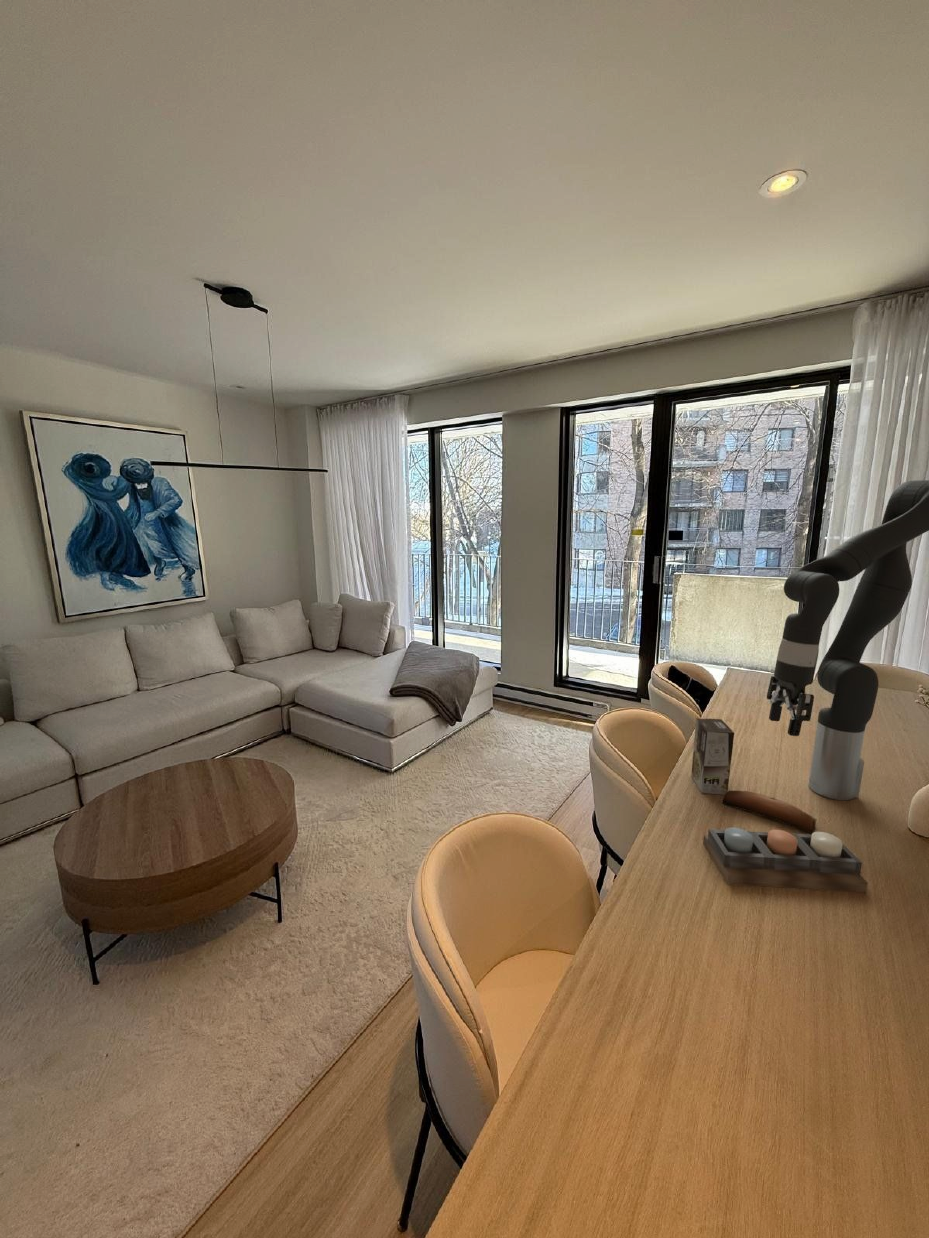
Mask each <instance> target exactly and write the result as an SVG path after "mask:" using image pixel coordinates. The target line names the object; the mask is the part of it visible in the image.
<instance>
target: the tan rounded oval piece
mask: <svg viewBox="0 0 929 1238" xmlns="http://www.w3.org/2000/svg"><path fill="white" fill-rule="evenodd" d="M792 834H793V833H791V834H790V832H788V831H784V830H781V829H770V830H769V831H768V838H767V847H768V849H769V850H770V851H771V852H772V854H775V855H794V856H796V849H797V842H798V841H797V839H796V837H794V836H793V835H792Z"/></svg>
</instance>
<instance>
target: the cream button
mask: <svg viewBox="0 0 929 1238" xmlns="http://www.w3.org/2000/svg"><path fill="white" fill-rule="evenodd" d="M811 835H812V836H811V843H810V848H811V849H812V850H813V851H814V853H815V854H816V855H817V856H818V857H831V858H840V857H841V851H842V845H843V844H844V843H843V842H842V840H841V839H840V838H838V836H836V835H833V834H830V833H829V832H824V831H813V833H812V834H811ZM835 836H836V837H835Z"/></svg>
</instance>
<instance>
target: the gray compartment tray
mask: <svg viewBox="0 0 929 1238" xmlns="http://www.w3.org/2000/svg"><path fill="white" fill-rule="evenodd" d="M725 830H726V829H708V832H707V833H708V834H703V837H702V843H703V846H704V847H705V849H706V851H707V853H708V854H709V856H710V858H711V859H712V861H713V863H714V865H715V866H716V868H717V869H718V871H719V873H720V874H721V876H722V878H723V879H724V881H725V884H726V885H738V886H739V885H740V886H741V885H742V886H754V887H769V888H771V887H772V888H773V887H775V888H786V889H787V888H791V889H804V890H805V889H806V890H807V889H808V890H820V891H821V890H825V891H837V892H838V891H840V892H842V891H843V892H857V893H867V890H868V889H867V888H868V884H869V883H868V881H867V880H866V879H865V878H864V877H863V876H862V875H861V872H862V865H863V862H862V861H861V860H860V859H859V858H858V857H857V855H855V854H854V852H852V851H851V850H850V849H849V848H848V847H847V846H846V845H845V844H844V843H843V845H842V851H841V857H840V858H831V857H818V856H817V855H816V854H815V853H814V851H813V850H812V849H811V848H810V843H811V836H812V834H809V833H790V832H789V833H790V834H792V835H793V836H794V837H796V839H797V841H798V842H797V849H796V856H794V855H775V854H772V852H771V851H770V850H769V849H768V847H767V838H768V832H769V831H768V832H766V831H750V830H749V831H747V830H746V831H747V832H749V833H750V834H751V835H752V836H753V845H752V853H738V852H728V851H727V849H726V848H725V846H724V836H725ZM834 836H835V837H837V836H836V835H834Z"/></svg>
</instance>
